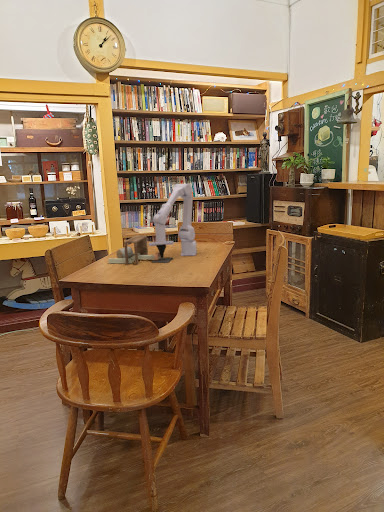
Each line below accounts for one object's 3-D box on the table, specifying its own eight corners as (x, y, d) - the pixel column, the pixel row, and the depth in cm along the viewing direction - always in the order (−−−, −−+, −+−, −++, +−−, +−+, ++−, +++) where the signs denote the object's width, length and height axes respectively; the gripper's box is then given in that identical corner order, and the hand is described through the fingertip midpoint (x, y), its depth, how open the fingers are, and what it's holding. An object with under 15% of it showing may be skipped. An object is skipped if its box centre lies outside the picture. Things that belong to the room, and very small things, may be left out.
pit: (172, 258, 222) (172, 257, 222) (168, 262, 211) (168, 262, 211) (156, 258, 224) (156, 257, 224) (151, 262, 213) (151, 262, 212)
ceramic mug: (116, 260, 223) (115, 247, 221) (127, 257, 228) (126, 245, 227) (125, 262, 215) (124, 250, 214) (137, 260, 221) (136, 248, 219)
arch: (148, 256, 230) (146, 235, 227) (137, 264, 209) (135, 241, 206) (137, 256, 231) (135, 235, 228) (125, 264, 210) (123, 241, 208)
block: (162, 256, 226) (162, 250, 225) (155, 263, 210) (155, 256, 209) (119, 256, 231) (118, 250, 230) (108, 263, 214) (108, 256, 214)
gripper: (171, 232, 220) (172, 254, 223) (147, 234, 216) (148, 257, 219) (173, 234, 213) (174, 257, 216) (149, 236, 210) (150, 259, 212)
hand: (161, 257), depth 217 cm, fingers closed
